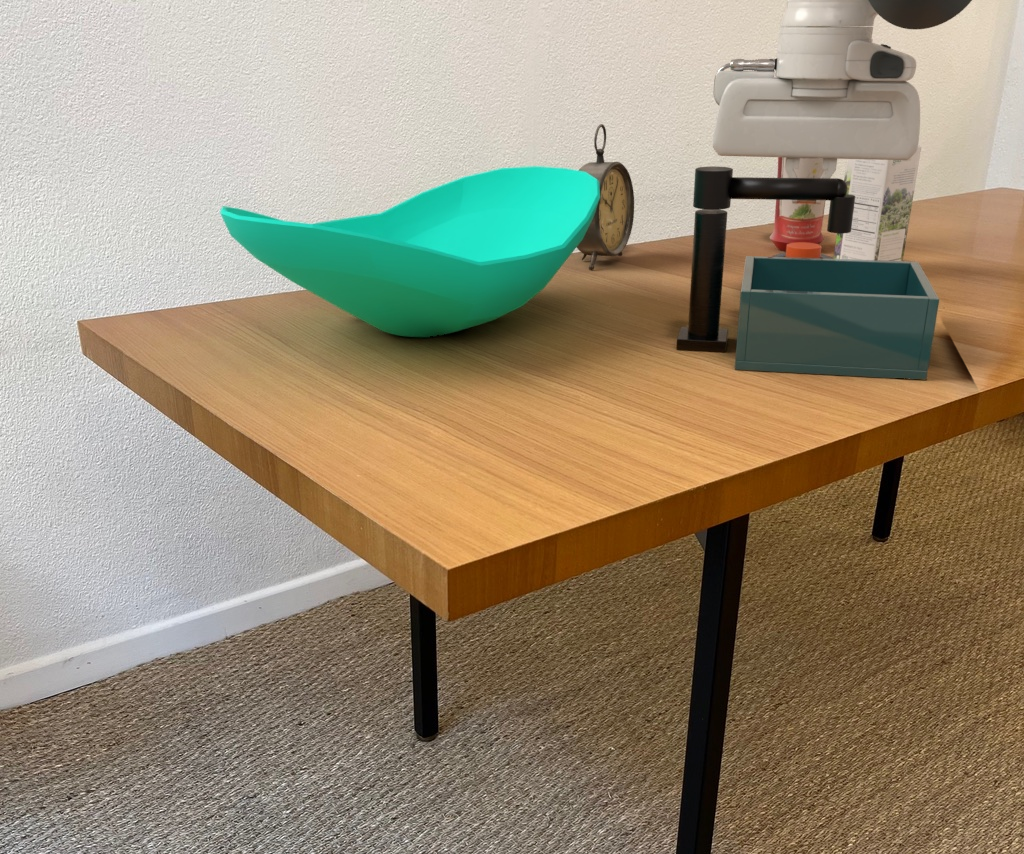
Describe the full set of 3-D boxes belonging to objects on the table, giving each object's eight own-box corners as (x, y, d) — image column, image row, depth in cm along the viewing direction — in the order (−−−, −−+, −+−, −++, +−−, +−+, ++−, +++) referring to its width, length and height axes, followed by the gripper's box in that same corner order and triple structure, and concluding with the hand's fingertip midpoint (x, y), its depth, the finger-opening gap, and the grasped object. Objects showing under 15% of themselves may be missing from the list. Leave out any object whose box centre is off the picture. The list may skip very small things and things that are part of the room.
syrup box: (861, 265, 127) (877, 138, 121) (903, 273, 123) (922, 142, 117) (831, 271, 124) (846, 142, 118) (873, 280, 120) (891, 146, 114)
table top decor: (350, 409, 82) (336, 236, 76) (175, 342, 100) (153, 198, 94) (664, 314, 107) (671, 179, 101) (479, 274, 125) (476, 158, 119)
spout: (691, 231, 92) (694, 170, 89) (692, 225, 94) (695, 166, 92) (852, 235, 89) (860, 172, 87) (848, 228, 92) (856, 167, 90)
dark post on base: (727, 339, 99) (737, 208, 94) (725, 352, 95) (735, 216, 90) (680, 336, 100) (687, 206, 94) (676, 349, 96) (683, 215, 91)
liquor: (821, 243, 139) (847, 10, 128) (828, 254, 133) (856, 10, 121) (764, 242, 140) (785, 11, 129) (769, 253, 134) (791, 10, 122)
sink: (907, 333, 100) (918, 261, 97) (926, 380, 87) (939, 299, 84) (740, 325, 103) (745, 255, 100) (734, 369, 90) (740, 291, 87)
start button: (819, 259, 113) (821, 242, 113) (820, 266, 110) (822, 249, 110) (785, 258, 114) (786, 241, 113) (785, 264, 111) (786, 248, 110)
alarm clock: (599, 273, 125) (602, 129, 118) (558, 269, 127) (559, 127, 120) (635, 256, 133) (640, 120, 126) (596, 252, 136) (599, 119, 129)
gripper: (714, 59, 103) (703, 204, 109) (933, 61, 99) (910, 211, 105) (717, 57, 109) (707, 195, 115) (925, 58, 105) (903, 201, 110)
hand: (806, 203), depth 110 cm, fingers closed
